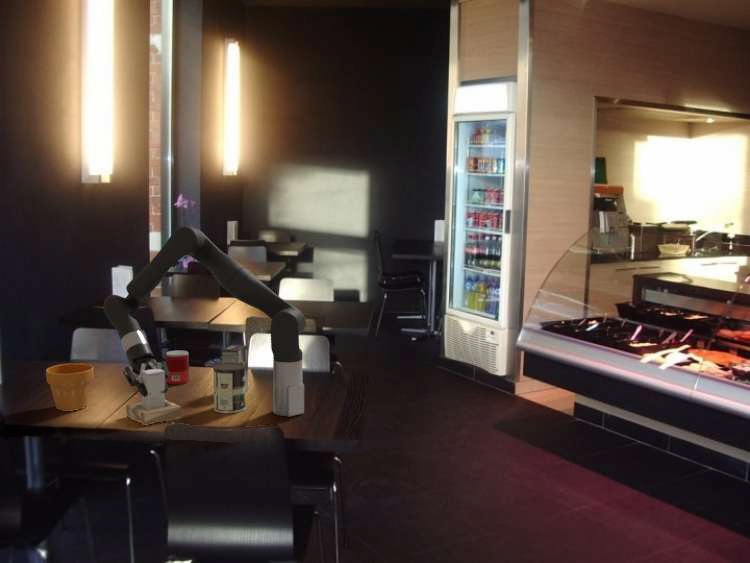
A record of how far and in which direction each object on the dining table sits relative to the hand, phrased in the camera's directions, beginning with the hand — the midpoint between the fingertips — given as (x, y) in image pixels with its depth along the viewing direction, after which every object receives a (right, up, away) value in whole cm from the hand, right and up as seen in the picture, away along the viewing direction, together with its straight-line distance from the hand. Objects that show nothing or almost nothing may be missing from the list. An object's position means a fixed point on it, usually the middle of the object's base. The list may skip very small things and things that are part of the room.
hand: (155, 393), depth 247 cm
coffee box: (+19, -4, +32) cm, 37 cm away
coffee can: (+20, -7, +13) cm, 25 cm away
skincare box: (-1, -5, +2) cm, 6 cm away
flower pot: (-30, -6, +11) cm, 32 cm away
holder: (-1, -8, +2) cm, 8 cm away
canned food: (-4, -2, +44) cm, 45 cm away
